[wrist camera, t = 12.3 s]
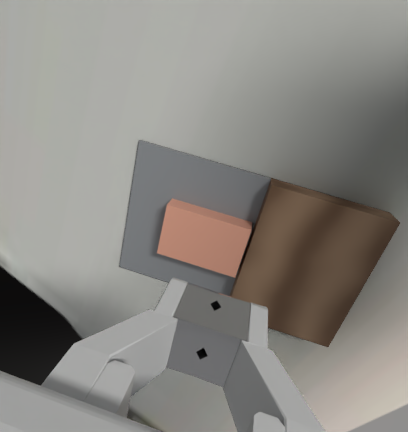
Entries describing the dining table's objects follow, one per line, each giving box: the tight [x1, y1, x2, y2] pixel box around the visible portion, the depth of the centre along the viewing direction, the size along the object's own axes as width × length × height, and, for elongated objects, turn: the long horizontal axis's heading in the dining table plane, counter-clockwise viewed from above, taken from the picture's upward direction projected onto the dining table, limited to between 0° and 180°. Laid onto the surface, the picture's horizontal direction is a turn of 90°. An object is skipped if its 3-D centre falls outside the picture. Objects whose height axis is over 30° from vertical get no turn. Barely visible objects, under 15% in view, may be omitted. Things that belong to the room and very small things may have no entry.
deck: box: [230, 178, 400, 347], centre depth 32 cm, size 12×16×2 cm
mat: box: [120, 140, 271, 296], centre depth 34 cm, size 14×16×1 cm
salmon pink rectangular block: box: [157, 198, 252, 278], centre depth 33 cm, size 9×6×2 cm, turn 76°
